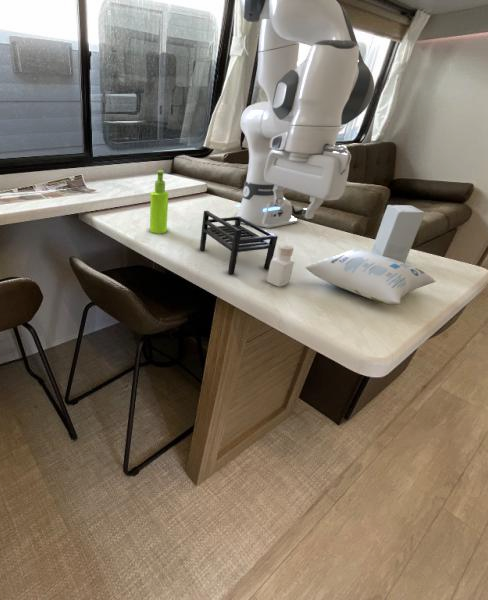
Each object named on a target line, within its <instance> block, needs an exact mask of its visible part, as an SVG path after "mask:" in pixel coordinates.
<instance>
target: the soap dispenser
mask: <svg viewBox="0 0 488 600" xmlns="http://www.w3.org/2000/svg"><path fill="white" fill-rule="evenodd" d="M149 207H150V210H149V211H150V213H149V231H150V233H153V234H164V233H166V232H167V228H168V227H167V225H168V208H169V192H168V191H166V181H165V180H164V169H157V180H155V181H154V191H151V192H150V206H149Z"/></svg>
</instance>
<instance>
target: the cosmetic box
mask: <svg viewBox="0 0 488 600" xmlns="http://www.w3.org/2000/svg"><path fill="white" fill-rule="evenodd" d="M425 214H426V212H425V211H423V210H421V209H419V208H417V207H415V206H414V205H407V204H406V205H405V204H402V205H401V204H387V206H386V208H385V212H384V214H383V217H382V219H381V222H380V224H379V225H380V226H379V228H378V231H377V234H376V236H375V239H374V242H373V245H372V248H371V251H370V253H373V254H377V255H380V256H384V257H387V258H390V259H394V260H397V261H400V262H402V263H405V264H406V261H407V259H408V256H409V253H410V251H411V249H412V247H413V244H414V242H415V239H416V236H417V234H418V232H419V230H420V227H421V225H422V223H423V220H424V217H425Z"/></svg>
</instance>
